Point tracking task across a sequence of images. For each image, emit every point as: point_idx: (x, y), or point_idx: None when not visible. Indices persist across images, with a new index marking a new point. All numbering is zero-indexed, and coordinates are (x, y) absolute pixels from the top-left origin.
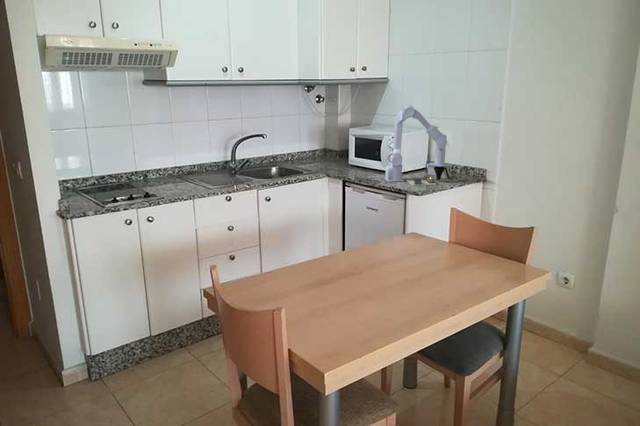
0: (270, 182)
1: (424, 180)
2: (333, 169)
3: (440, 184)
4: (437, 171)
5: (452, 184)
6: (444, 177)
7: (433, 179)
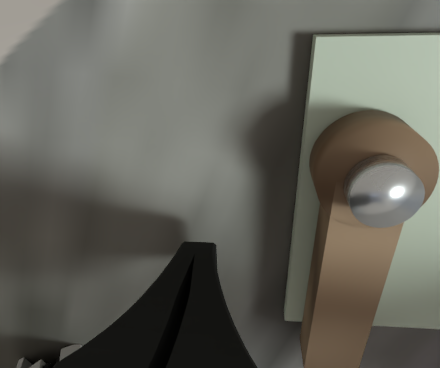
0: None
1: None
2: None
3: (222, 92)
4: (232, 346)
5: (32, 73)
6: None
7: (325, 192)
